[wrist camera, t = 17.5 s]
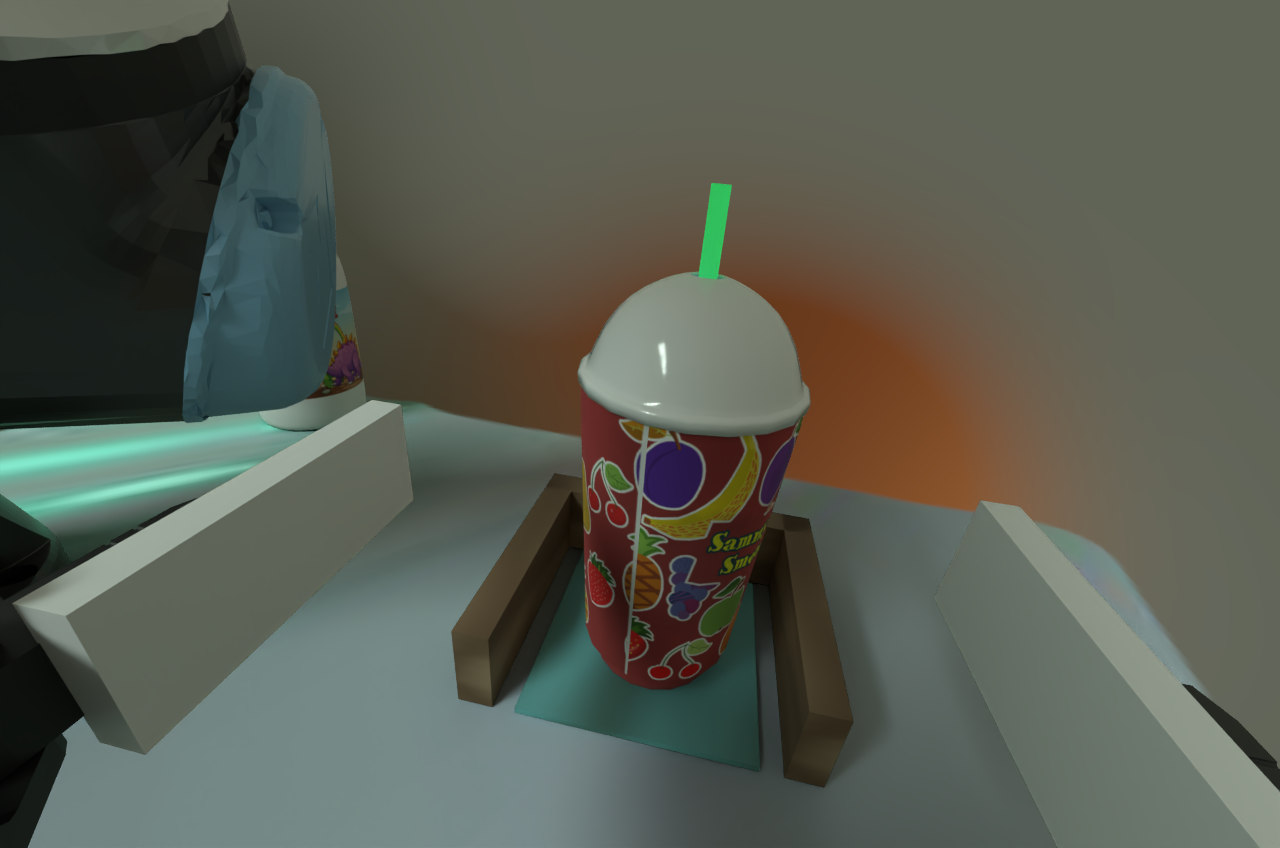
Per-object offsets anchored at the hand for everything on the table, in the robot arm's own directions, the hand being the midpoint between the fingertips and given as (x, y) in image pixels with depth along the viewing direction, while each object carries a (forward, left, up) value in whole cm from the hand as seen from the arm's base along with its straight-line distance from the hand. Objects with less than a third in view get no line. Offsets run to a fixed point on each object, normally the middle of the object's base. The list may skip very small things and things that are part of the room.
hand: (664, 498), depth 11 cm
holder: (-1, +8, -14) cm, 16 cm away
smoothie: (-1, +8, -13) cm, 15 cm away
